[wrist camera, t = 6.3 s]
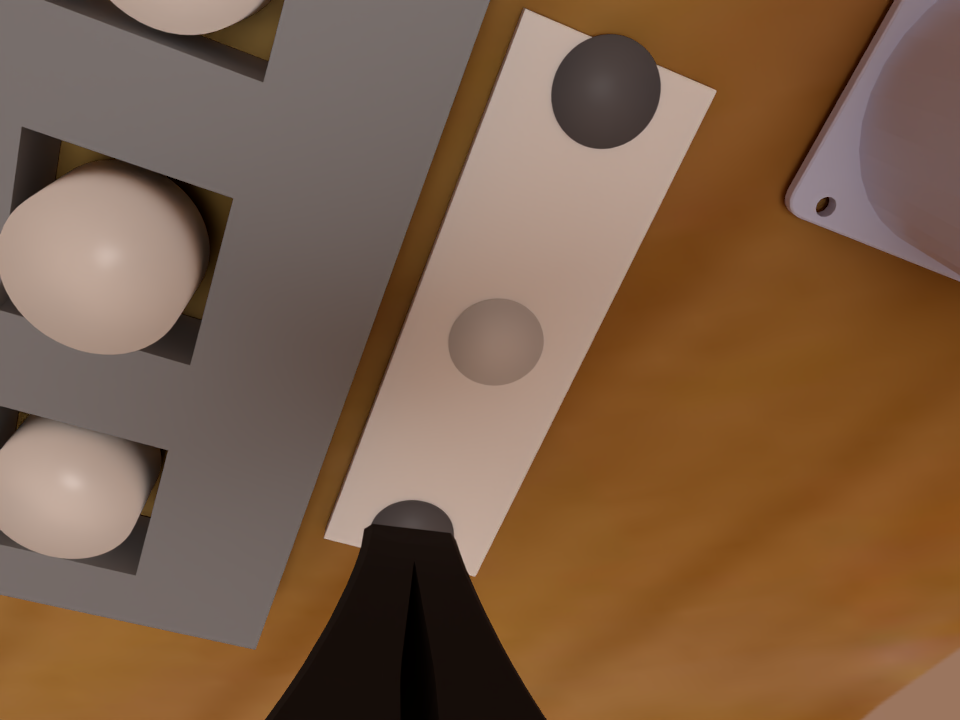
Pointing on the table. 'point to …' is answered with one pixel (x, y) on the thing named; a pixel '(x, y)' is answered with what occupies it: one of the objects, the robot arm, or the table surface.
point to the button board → (224, 273)
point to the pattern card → (518, 280)
